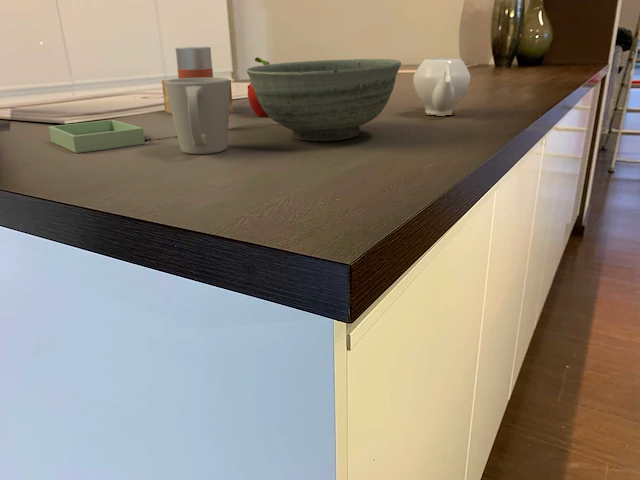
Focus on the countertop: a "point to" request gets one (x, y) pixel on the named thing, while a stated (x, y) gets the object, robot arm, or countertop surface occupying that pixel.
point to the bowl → (324, 95)
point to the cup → (200, 113)
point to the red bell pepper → (253, 98)
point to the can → (194, 62)
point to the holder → (167, 103)
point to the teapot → (441, 83)
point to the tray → (96, 135)
